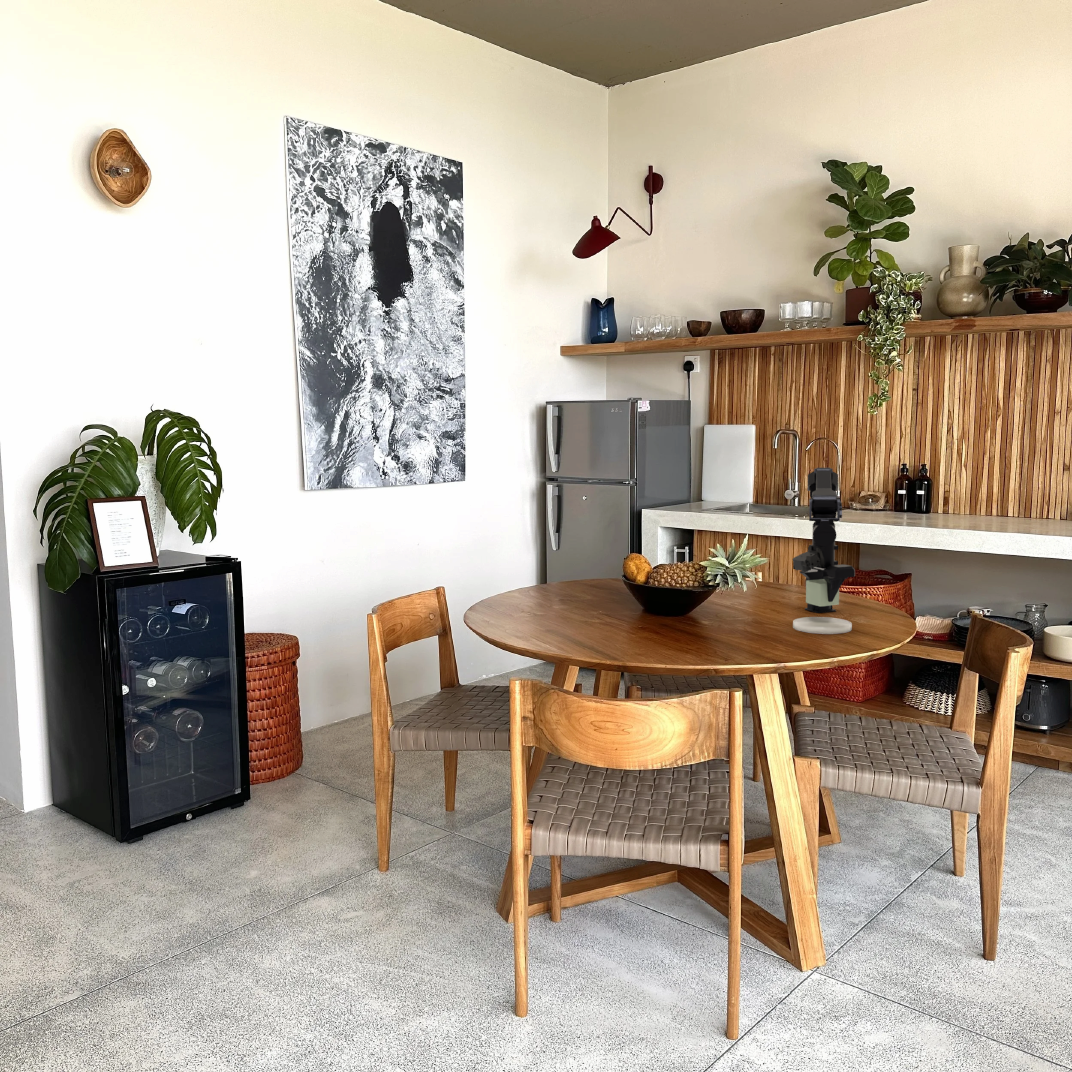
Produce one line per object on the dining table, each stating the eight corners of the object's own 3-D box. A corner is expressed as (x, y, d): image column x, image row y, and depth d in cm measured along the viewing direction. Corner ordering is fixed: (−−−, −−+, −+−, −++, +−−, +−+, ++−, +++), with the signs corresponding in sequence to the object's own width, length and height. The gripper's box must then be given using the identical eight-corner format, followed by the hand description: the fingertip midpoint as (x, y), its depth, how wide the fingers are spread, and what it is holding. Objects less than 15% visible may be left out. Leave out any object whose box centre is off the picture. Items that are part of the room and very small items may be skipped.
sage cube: (824, 600, 262) (824, 578, 262) (838, 604, 257) (839, 582, 256) (805, 602, 260) (806, 580, 259) (820, 606, 255) (820, 583, 254)
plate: (826, 620, 269) (827, 615, 269) (863, 630, 255) (864, 625, 255) (781, 625, 263) (781, 619, 263) (816, 636, 249) (816, 630, 249)
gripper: (776, 539, 262) (776, 596, 264) (821, 547, 245) (820, 608, 247) (810, 537, 266) (809, 593, 268) (856, 544, 249) (855, 604, 251)
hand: (822, 599), depth 258 cm, fingers closed on sage cube, 6 cm apart
